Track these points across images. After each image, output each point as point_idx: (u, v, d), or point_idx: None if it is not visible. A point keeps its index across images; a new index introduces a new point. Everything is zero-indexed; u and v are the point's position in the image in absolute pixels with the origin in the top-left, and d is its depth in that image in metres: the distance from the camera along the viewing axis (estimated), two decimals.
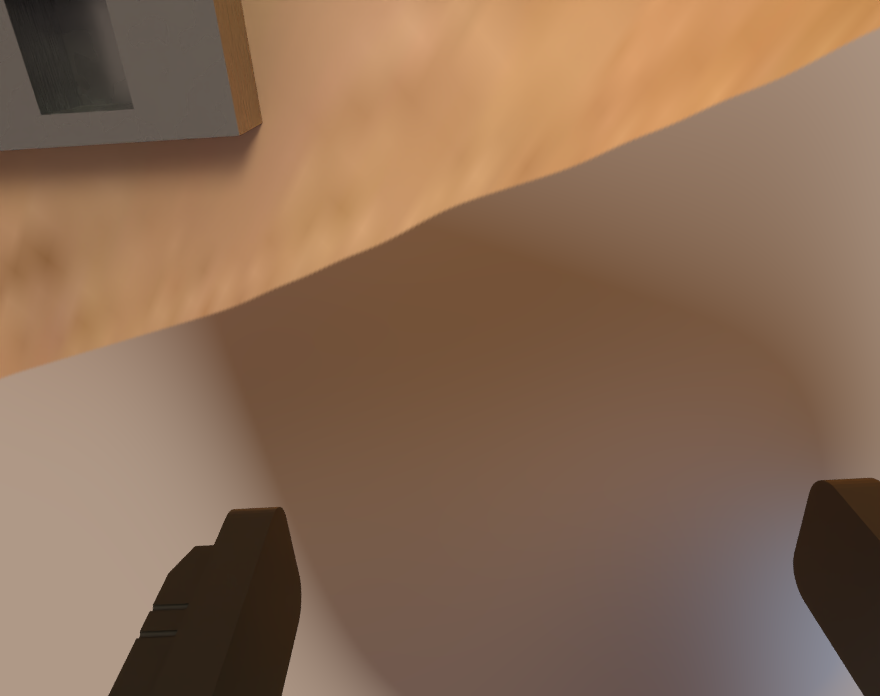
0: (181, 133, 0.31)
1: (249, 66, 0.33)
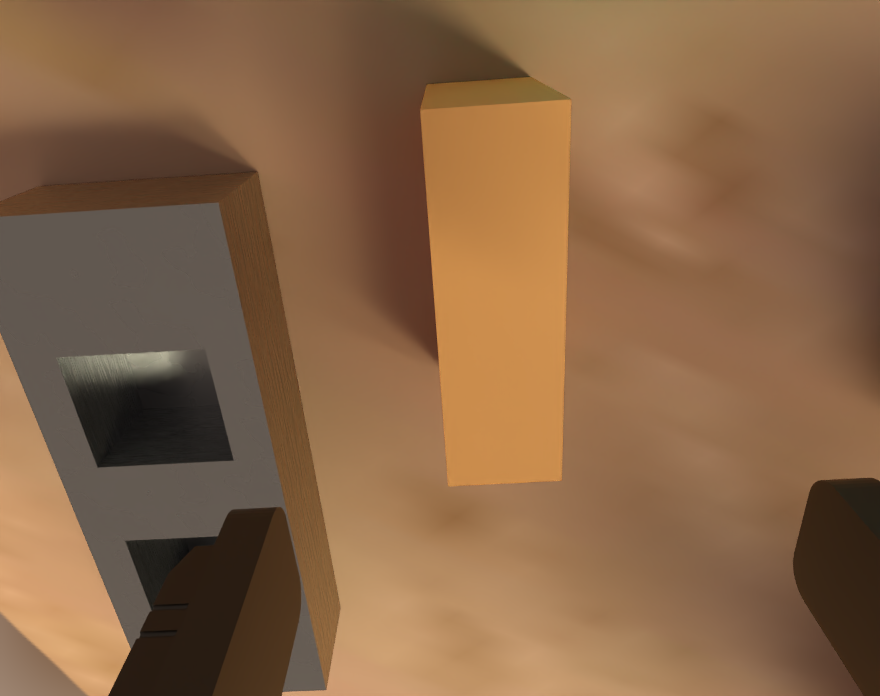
0: None
1: None
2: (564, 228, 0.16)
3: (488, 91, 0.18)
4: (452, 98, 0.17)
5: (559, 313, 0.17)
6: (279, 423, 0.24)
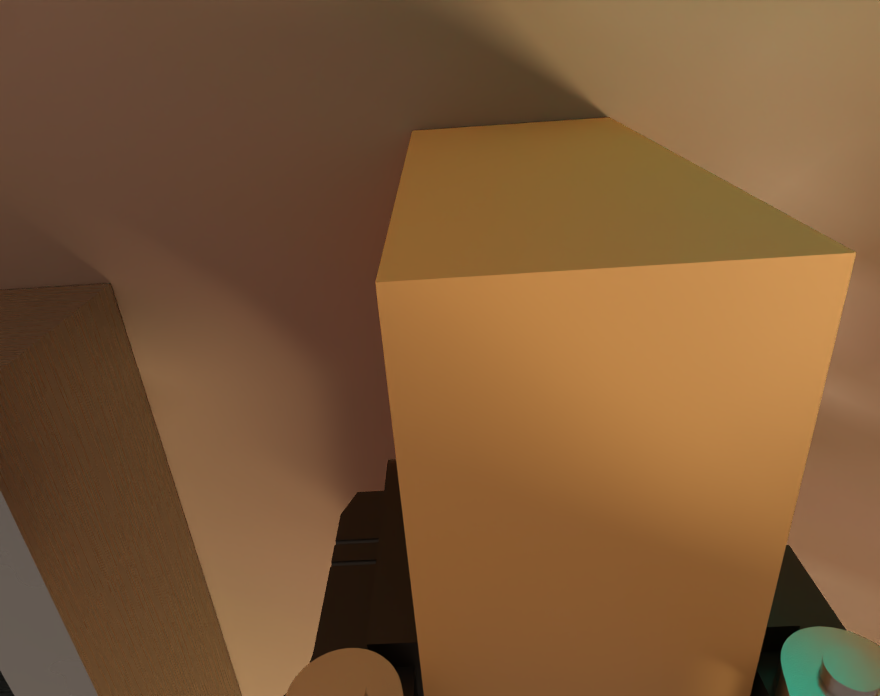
0: None
1: None
2: (772, 563, 0.06)
3: (549, 172, 0.08)
4: (469, 204, 0.07)
5: None
6: None
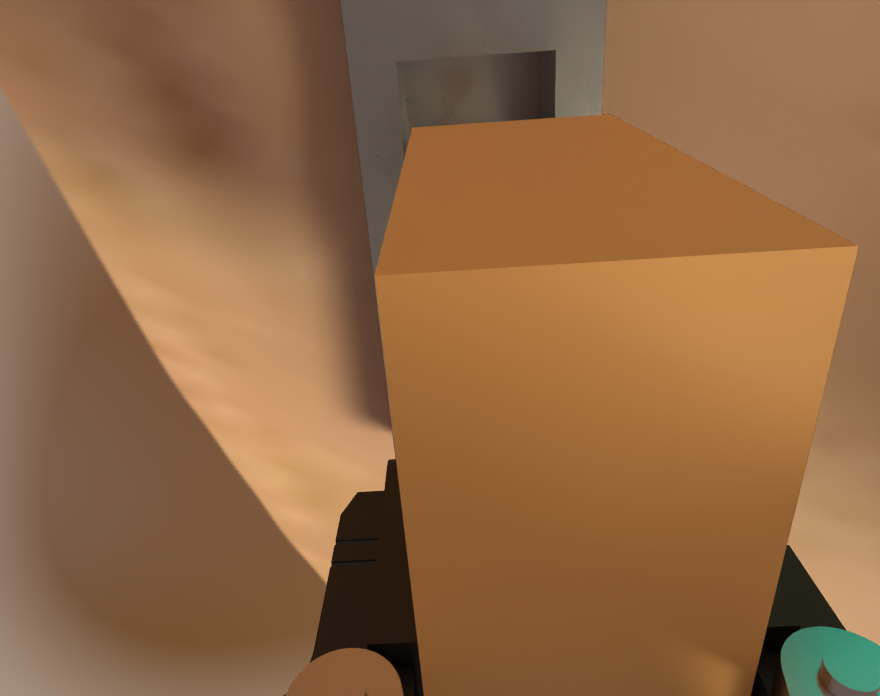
0: None
1: None
2: (773, 558, 0.06)
3: (550, 167, 0.08)
4: (469, 198, 0.07)
5: None
6: None
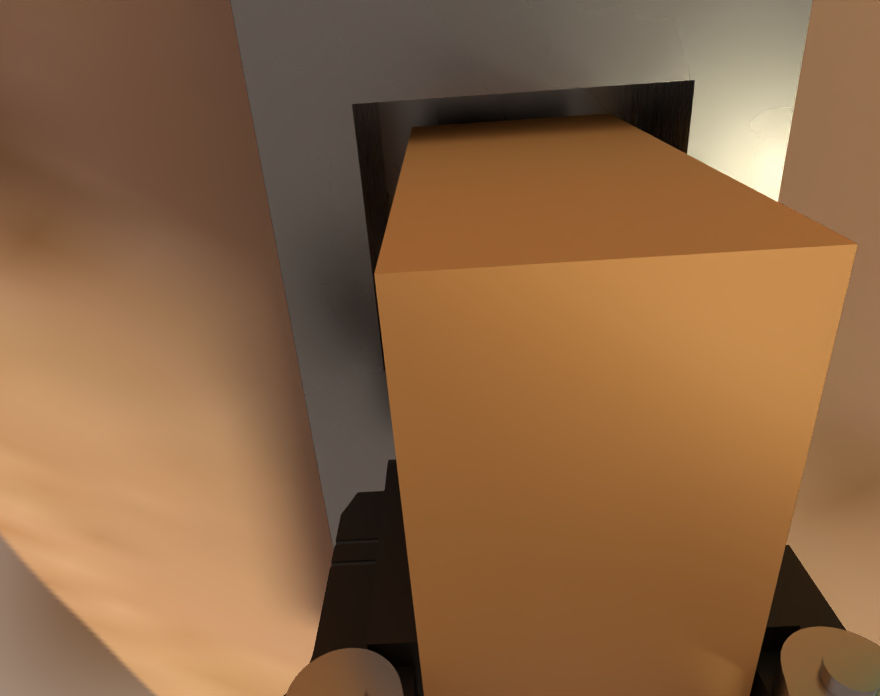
0: None
1: None
2: (772, 556, 0.06)
3: (549, 166, 0.08)
4: (469, 197, 0.07)
5: None
6: None
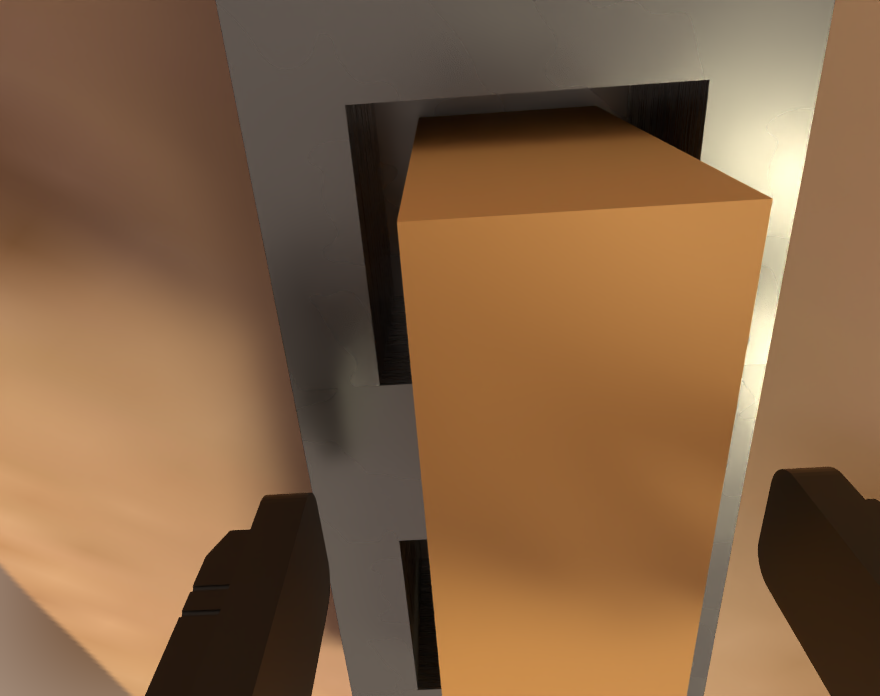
0: None
1: None
2: (718, 463, 0.07)
3: (539, 147, 0.09)
4: (470, 170, 0.08)
5: (688, 608, 0.08)
6: None
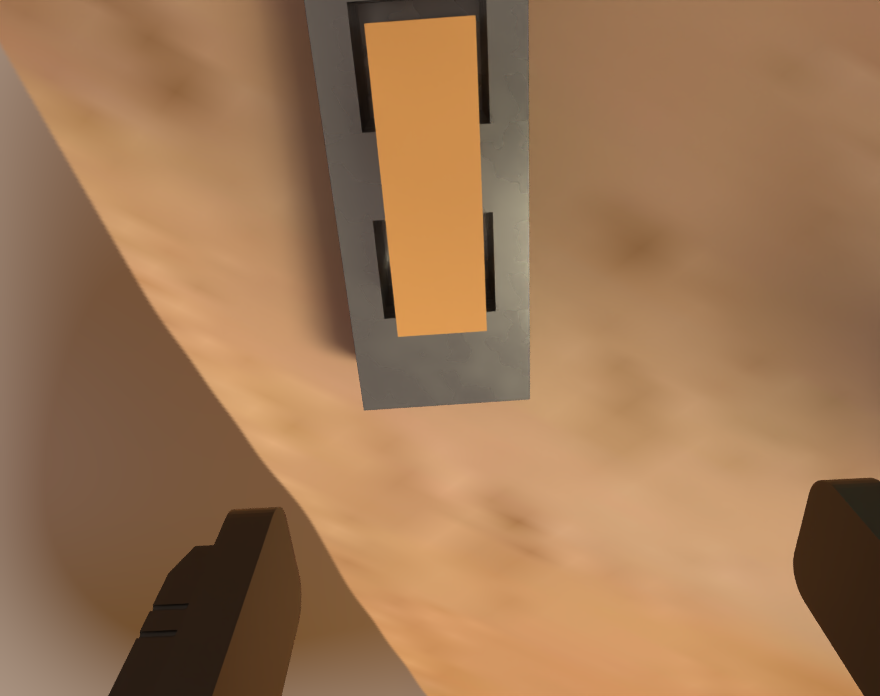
0: (362, 359, 0.30)
1: None
2: (476, 117, 0.21)
3: None
4: None
5: (476, 187, 0.22)
6: None
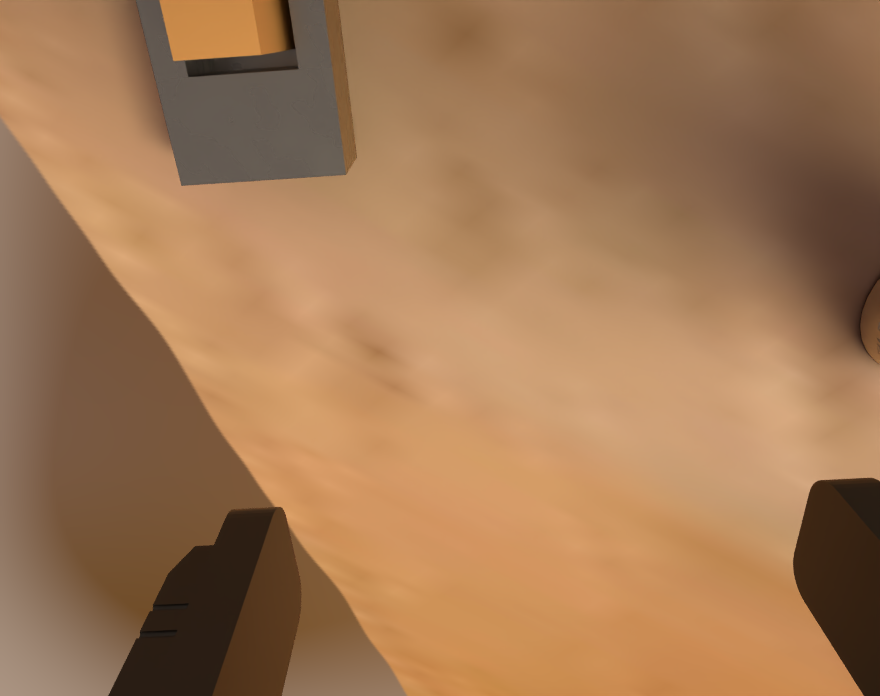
0: (172, 124, 0.30)
1: None
2: None
3: None
4: None
5: None
6: None
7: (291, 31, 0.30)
